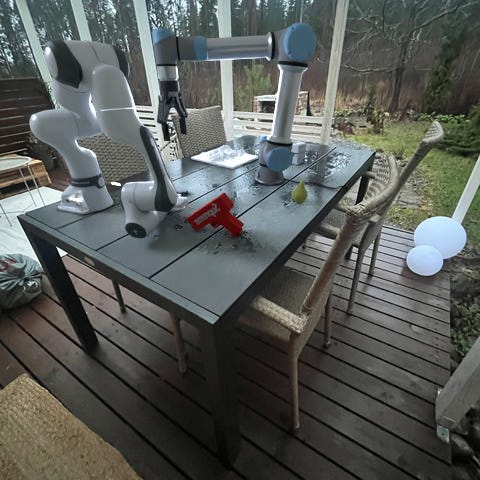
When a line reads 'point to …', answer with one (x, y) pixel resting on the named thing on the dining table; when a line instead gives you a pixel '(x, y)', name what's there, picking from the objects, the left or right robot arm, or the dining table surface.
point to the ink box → (298, 152)
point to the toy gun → (216, 216)
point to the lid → (182, 192)
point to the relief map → (226, 157)
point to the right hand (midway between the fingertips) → (176, 137)
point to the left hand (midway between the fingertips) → (168, 195)
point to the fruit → (300, 192)
